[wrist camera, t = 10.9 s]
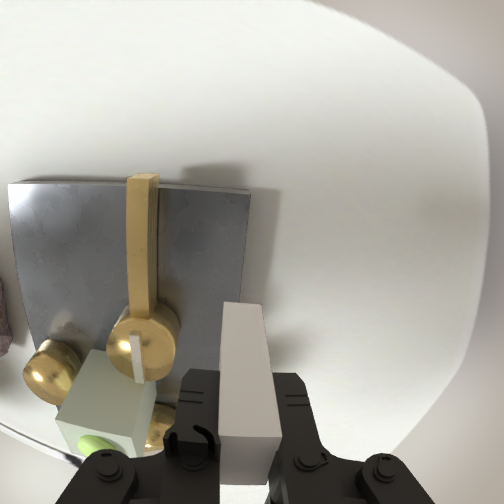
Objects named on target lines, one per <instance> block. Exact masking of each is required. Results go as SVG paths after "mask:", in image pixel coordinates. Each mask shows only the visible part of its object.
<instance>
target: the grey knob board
mask: <svg viewBox="0 0 504 504" xmlns="http://www.w3.org/2000/svg"><path fill="white" fill-rule="evenodd" d="M8 191H9V209H10V221H11V231H12V240H13V248H14V255H15V262H16V268H17V274H18V279H19V284H20V289H21V294H22V299H23V303H24V308H25V312H26V316H27V320H28V324H29V328H30V331H31V335H32V338H33V342H34V345H35V349H36V352H35V354H34V355H33V357H32V358H31V359H30V361H29V362H28V364H27V365H26V366H25V368H24V370H23V377H24V380H25V382H26V384H27V386H28V387H29V388H30V390H31V391H32V392H33V393H34V394H35V395H37V396H38V397H39V398H40V399H42V400H44V401H46V402H48V403H50V404H53V405H56V407H57V409H58V411H59V410H60V408H61V406H62V404H63V402H64V400H65V398H66V396H67V394H68V392H69V390H70V388H71V386H72V384H73V382H74V380H75V378H76V377H77V375H78V373H79V371H80V369H81V367H82V365H83V363H84V362H85V360H86V358H87V356H88V354H89V352H90V351H91V349H95V350H100V351H106V343H107V340H108V338H109V336H110V334H111V332H112V330H113V328H114V326H115V324H116V323H117V321H118V319H119V317H120V315H121V313H122V312H123V310H124V308H125V307H126V306H127V305H128V304H129V291H128V274H127V247H126V193H127V182H117V181H73V180H36V181H19V182H15V183H12V184H9V185H8ZM250 196H251V194H250V192H249V190H242V189H231V188H219V187H207V186H193V185H178V184H162V183H159V187H158V210H157V301H159V302H161V303H163V304H165V305H166V306H167V307H169V308H170V309H171V310H172V311H173V312H174V314H175V315H176V317H177V319H178V321H179V324H180V334H179V338H178V342H177V347H176V352H175V356H174V361H173V365H172V368H171V370H170V372H169V373H168V374H167V375H166V376H165V377H163V378H162V379H159V380H156V381H155V383H156V392H157V395H156V399H155V403H154V404H161V405H165V406H168V407H170V408H172V409H174V410H175V411H176V409H177V403H178V398H179V392H180V386H181V381H182V377H183V376H184V375H185V374H186V373H187V371H188V370H189V369H190V368H193V369H204V370H216V371H219V363H220V346H221V333H222V319H223V307H224V302H234V303H239V297H240V288H241V278H242V269H243V260H244V250H245V241H246V232H247V223H248V214H249V205H250Z"/></svg>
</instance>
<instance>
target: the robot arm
mask: <svg viewBox="0 0 504 504" xmlns="http://www.w3.org/2000/svg"><path fill="white" fill-rule="evenodd" d="M163 444H164V450H163V451H161V452H159V453H157V454H155V455H151V456H145V457H135V458H129V457H128V456H127V455H125V454H124V453H122V452H121V451H117V450H113V449H100V450H98V451H95V452H93V453H91V454H90V455H89V456H88V457H87V458H86V459H85V461H84V462H83V464H82V465H81V467H80V468H79V470H78V471H77V472H76V474H75V475H74V477H73V478H72V480H71V481H70V483H69V484H68V486H67V487H66V489H65V490H64V491H63V493H62V494H61V496H60V498H59V499H58V500H57V502H56V503H55V504H220V484H226V485H266V484H267V481H269V490H270V491H269V494H268V496H267V499H266V501H265V504H435V503H434V502H433V501H432V499H431V498H430V497H429V495H428V494H427V493H426V491H425V490H424V489H423V487H422V486H421V485H420V484H419V482H418V481H417V480H416V478H415V477H414V476H413V474H412V473H411V472H410V471H409V469H408V468H407V467H406V465H405V464H404V463H403V462H402V461H401V460H400V459H399V458H397V457H396V456H393V455H391V454H385V453H380V454H375V455H372V456H371V457H369V458H368V459H367V460H366V461H365V462H361V461H353V460H347V459H342V458H338V457H336V456H334V455H332V454H330V452H329V451H328V450H327V449H325V448H324V447H323V446H322V444H321V441H320V439H319V435H318V431H317V427H316V423H315V420H314V416H313V412H312V409H311V406H310V401H309V397H308V394H307V390H306V386H305V383H304V382H303V381H302V379H301V378H300V377H299V376H298V375H297V374H296V373H272V369H271V363H270V357H269V351H268V344H267V338H266V332H265V326H264V319H263V313H262V307H261V304H248V303H234V302H224V307H223V319H222V333H221V346H220V363H219V371H216V370H204V369H193V368H190V369H189V370H188V371H187V373H186V374H185V375H184V376H183V377H182V381H181V386H180V392H179V398H178V403H177V409H176V415H175V421H174V425H172V426H171V427H170V428H169V429H167V430H166V432H165V434H164V436H163Z"/></svg>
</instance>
